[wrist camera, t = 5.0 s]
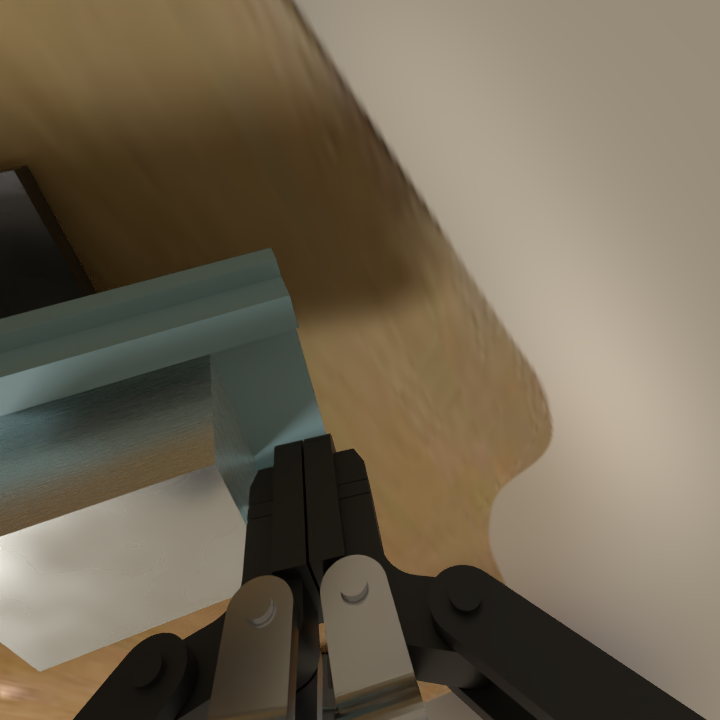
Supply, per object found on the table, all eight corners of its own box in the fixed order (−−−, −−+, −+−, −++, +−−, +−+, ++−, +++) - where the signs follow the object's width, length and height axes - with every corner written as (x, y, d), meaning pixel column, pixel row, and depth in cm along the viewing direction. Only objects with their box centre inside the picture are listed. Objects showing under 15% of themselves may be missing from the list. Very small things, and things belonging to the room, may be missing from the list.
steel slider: (-2, 413, 13) (-96, 569, 9) (209, 350, 14) (214, 463, 10) (81, 514, 15) (39, 671, 11) (254, 456, 16) (274, 580, 12)
